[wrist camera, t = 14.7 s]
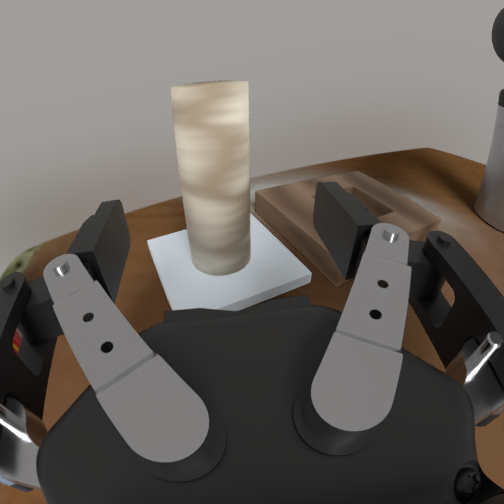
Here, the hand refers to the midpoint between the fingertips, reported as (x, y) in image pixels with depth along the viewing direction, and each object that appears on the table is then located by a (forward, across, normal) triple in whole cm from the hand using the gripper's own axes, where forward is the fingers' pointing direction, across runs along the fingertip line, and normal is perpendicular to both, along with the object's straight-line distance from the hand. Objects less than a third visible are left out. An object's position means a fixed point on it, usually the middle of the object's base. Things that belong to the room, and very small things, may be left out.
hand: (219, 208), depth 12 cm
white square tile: (+10, 0, +11) cm, 14 cm away
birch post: (+10, 0, +10) cm, 14 cm away
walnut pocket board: (+14, -14, +10) cm, 23 cm away
